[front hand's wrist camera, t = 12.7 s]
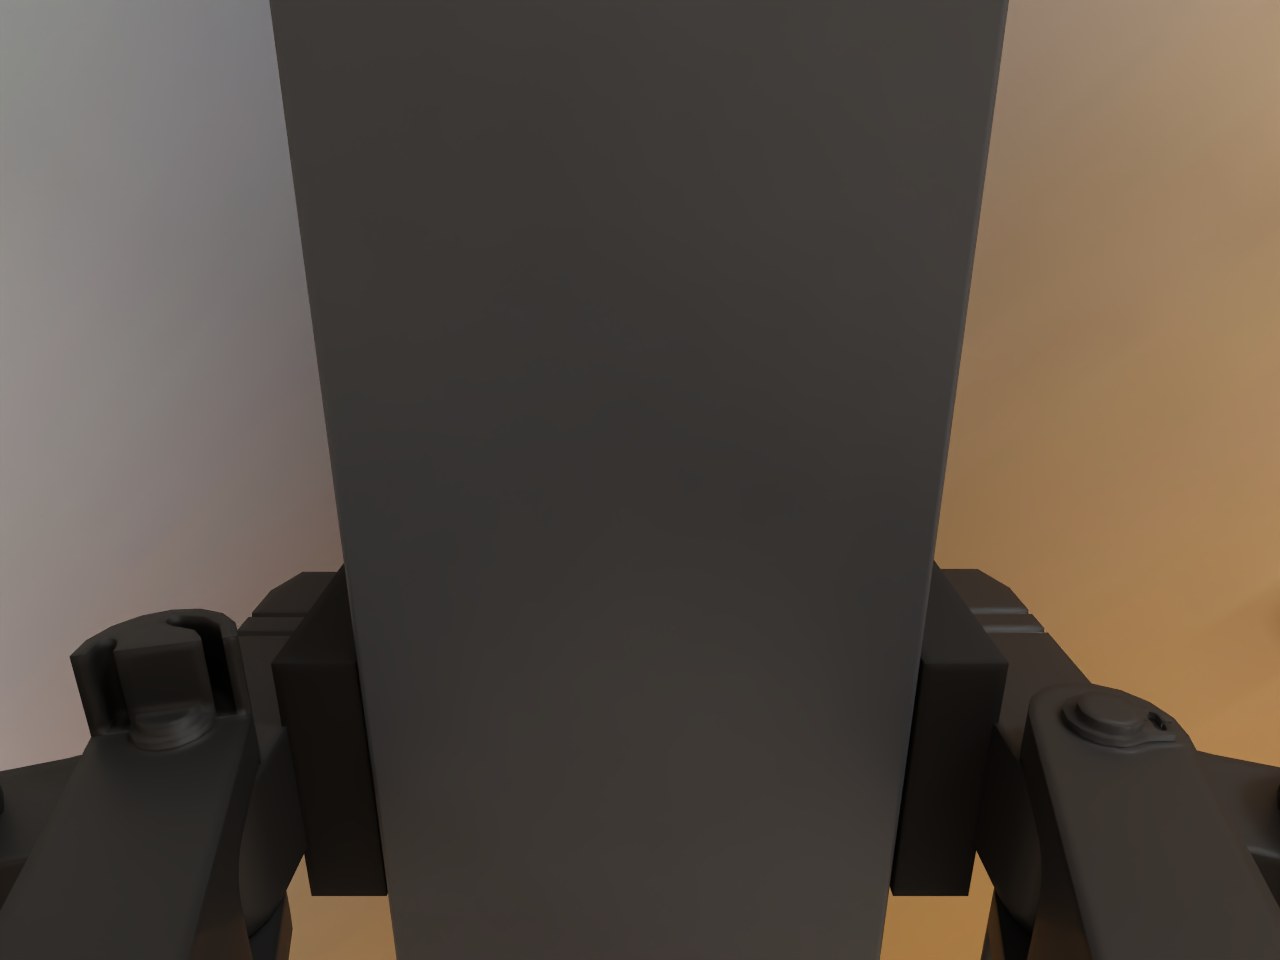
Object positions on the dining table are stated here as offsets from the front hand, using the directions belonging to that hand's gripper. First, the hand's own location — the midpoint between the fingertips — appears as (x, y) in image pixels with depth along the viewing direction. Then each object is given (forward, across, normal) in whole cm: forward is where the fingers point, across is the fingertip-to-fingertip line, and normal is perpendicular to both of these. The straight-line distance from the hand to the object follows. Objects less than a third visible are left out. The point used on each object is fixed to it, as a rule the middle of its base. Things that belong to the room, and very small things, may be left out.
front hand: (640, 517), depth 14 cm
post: (+1, 0, -28) cm, 28 cm away
